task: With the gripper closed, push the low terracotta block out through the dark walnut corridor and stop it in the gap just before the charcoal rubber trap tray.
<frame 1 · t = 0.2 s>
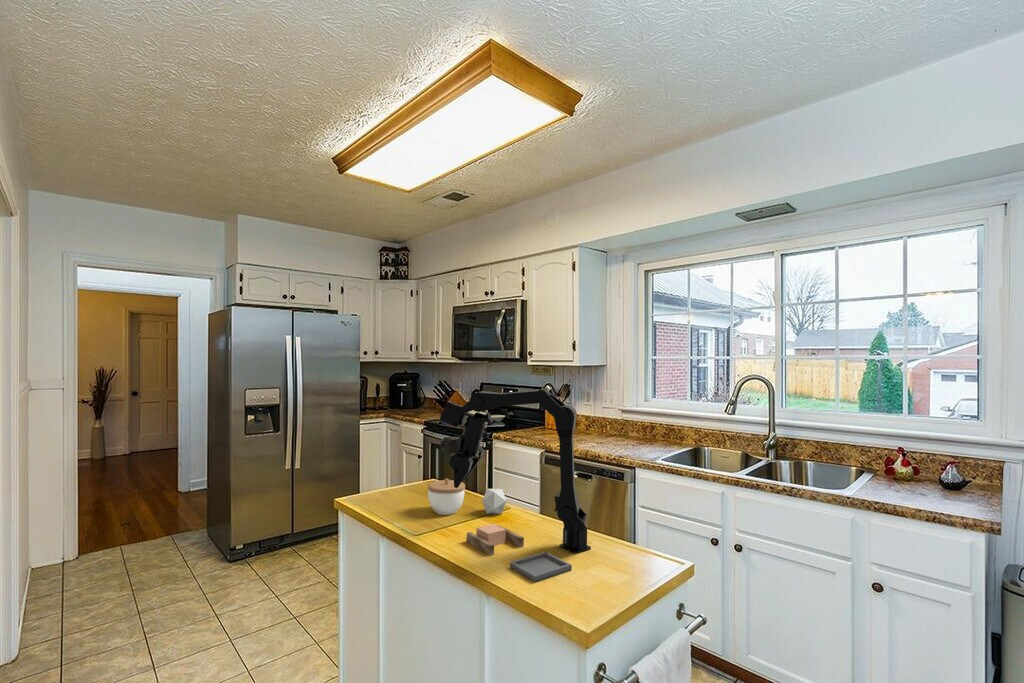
hand: (459, 483, 150), 15 cm above the counter, tool pointing down, fingers open, 9 cm apart
block: (490, 542, 145), on the counter
corridor rails: (494, 543, 143), on the counter
trap tray: (540, 568, 127), on the counter
die: (494, 513, 171), on the counter
lidded bowl: (445, 512, 171), on the counter
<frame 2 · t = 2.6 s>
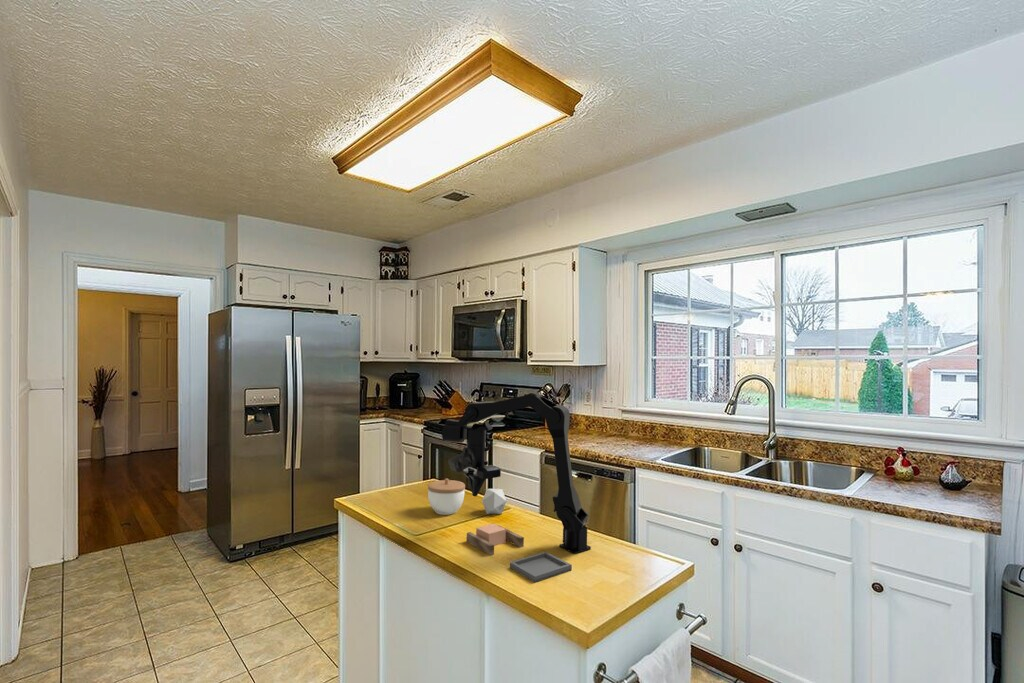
hand: (474, 495, 152), 11 cm above the counter, tool pointing down, fingers closed
nothing on the counter moved.
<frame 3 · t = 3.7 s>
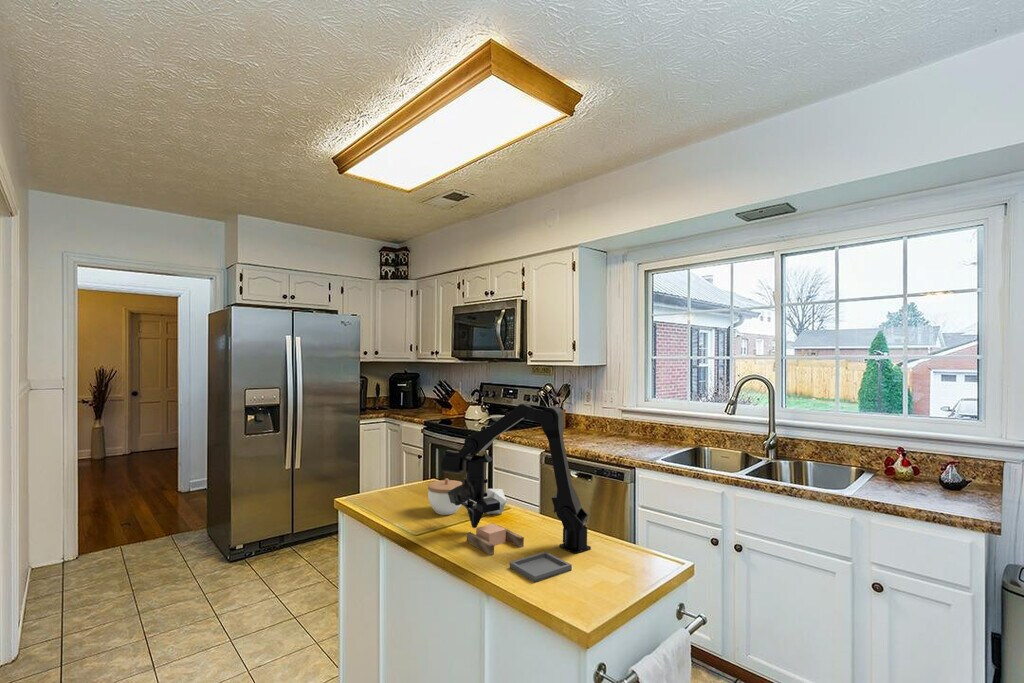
hand: (474, 527, 152), 1 cm above the counter, tool pointing down, fingers closed
nothing on the counter moved.
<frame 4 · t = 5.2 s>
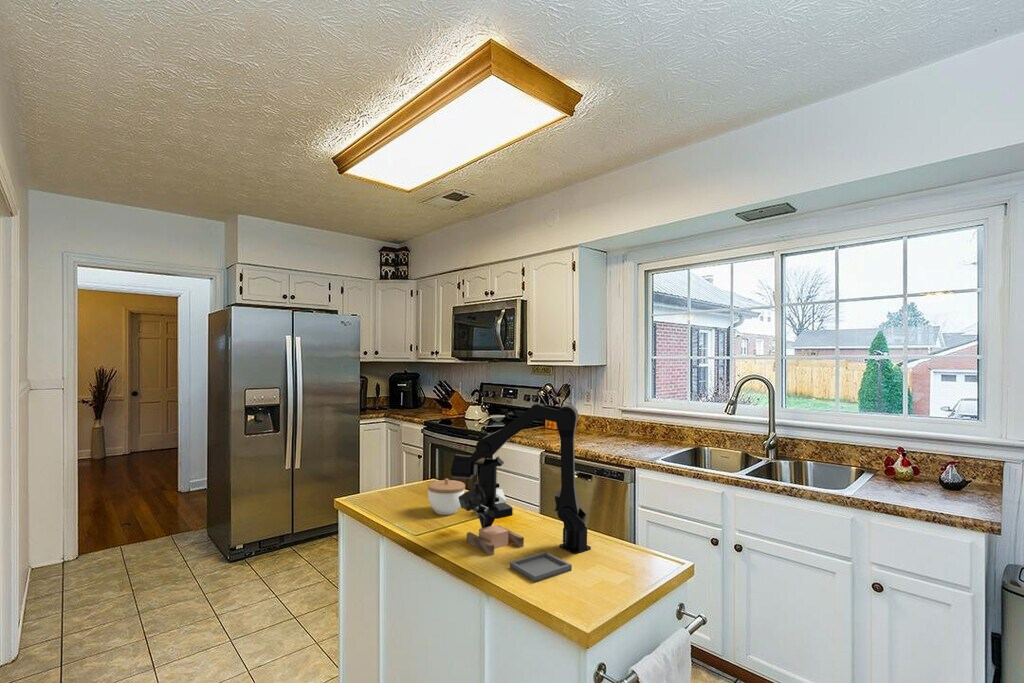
hand: (485, 533, 147), 1 cm above the counter, tool pointing down, fingers closed
block: (493, 544, 143), on the counter, touching gripper
everything else where it was.
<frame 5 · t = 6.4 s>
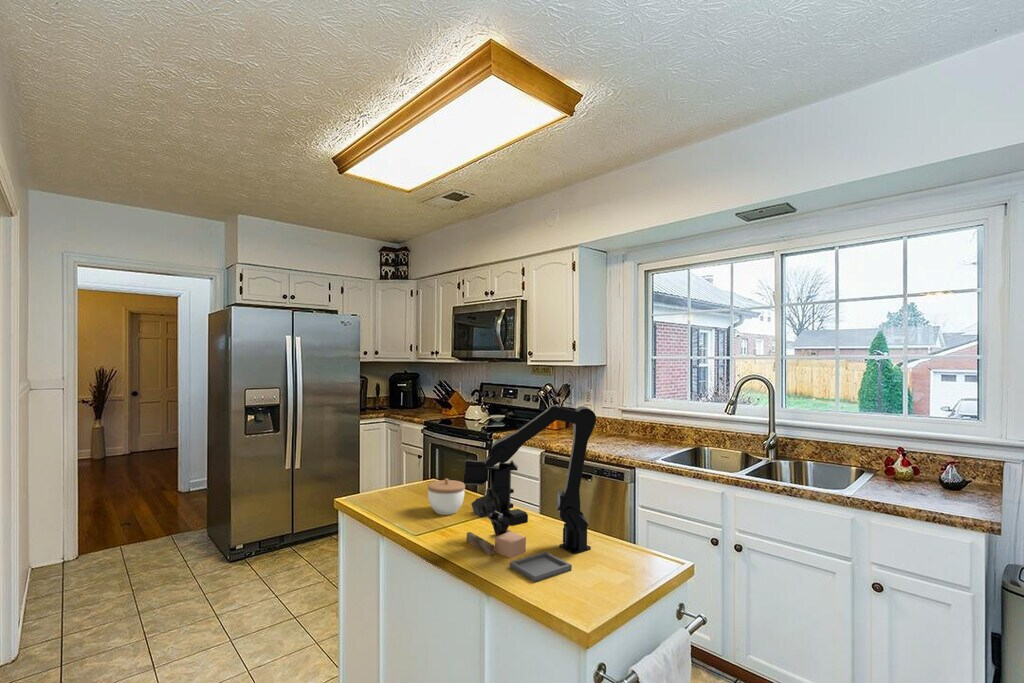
hand: (499, 541, 142), 1 cm above the counter, tool pointing down, fingers closed
block: (510, 551, 138), on the counter, touching gripper
everything else where it was.
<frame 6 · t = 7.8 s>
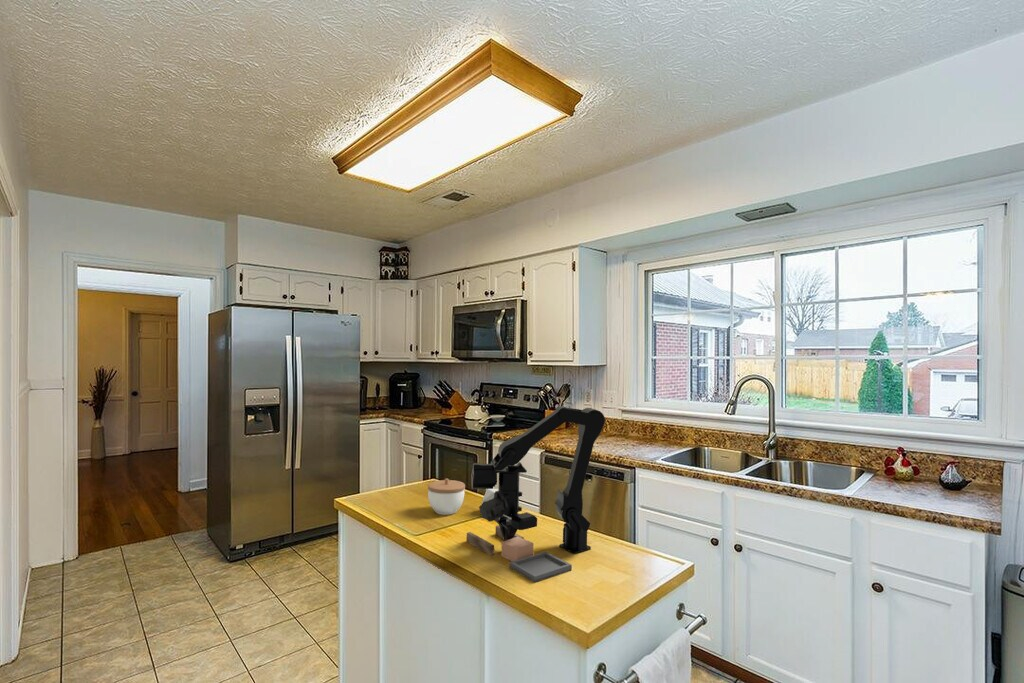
hand: (507, 545, 138), 2 cm above the counter, tool pointing down, fingers closed
block: (517, 557, 135), on the counter
everything else where it was.
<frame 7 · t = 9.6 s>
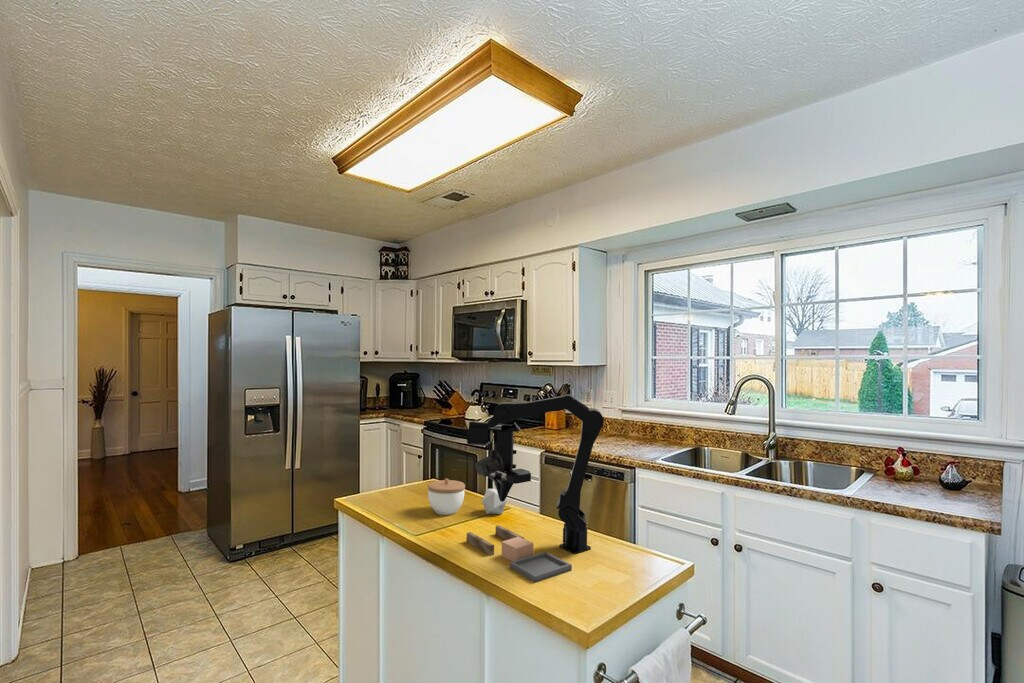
hand: (502, 501, 144), 12 cm above the counter, tool pointing down, fingers closed
nothing on the counter moved.
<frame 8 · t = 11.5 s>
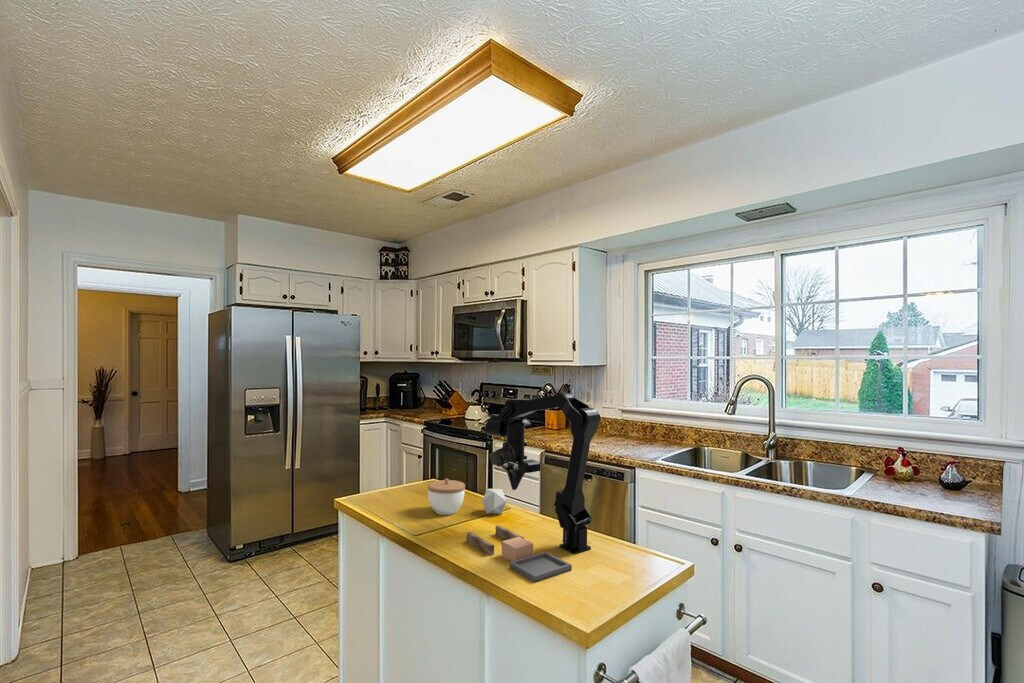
hand: (514, 489, 156), 12 cm above the counter, tool pointing down, fingers closed
nothing on the counter moved.
at the end: block 1.0 cm from the target spot, on the counter; block touching counter; block tilted 0° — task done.
